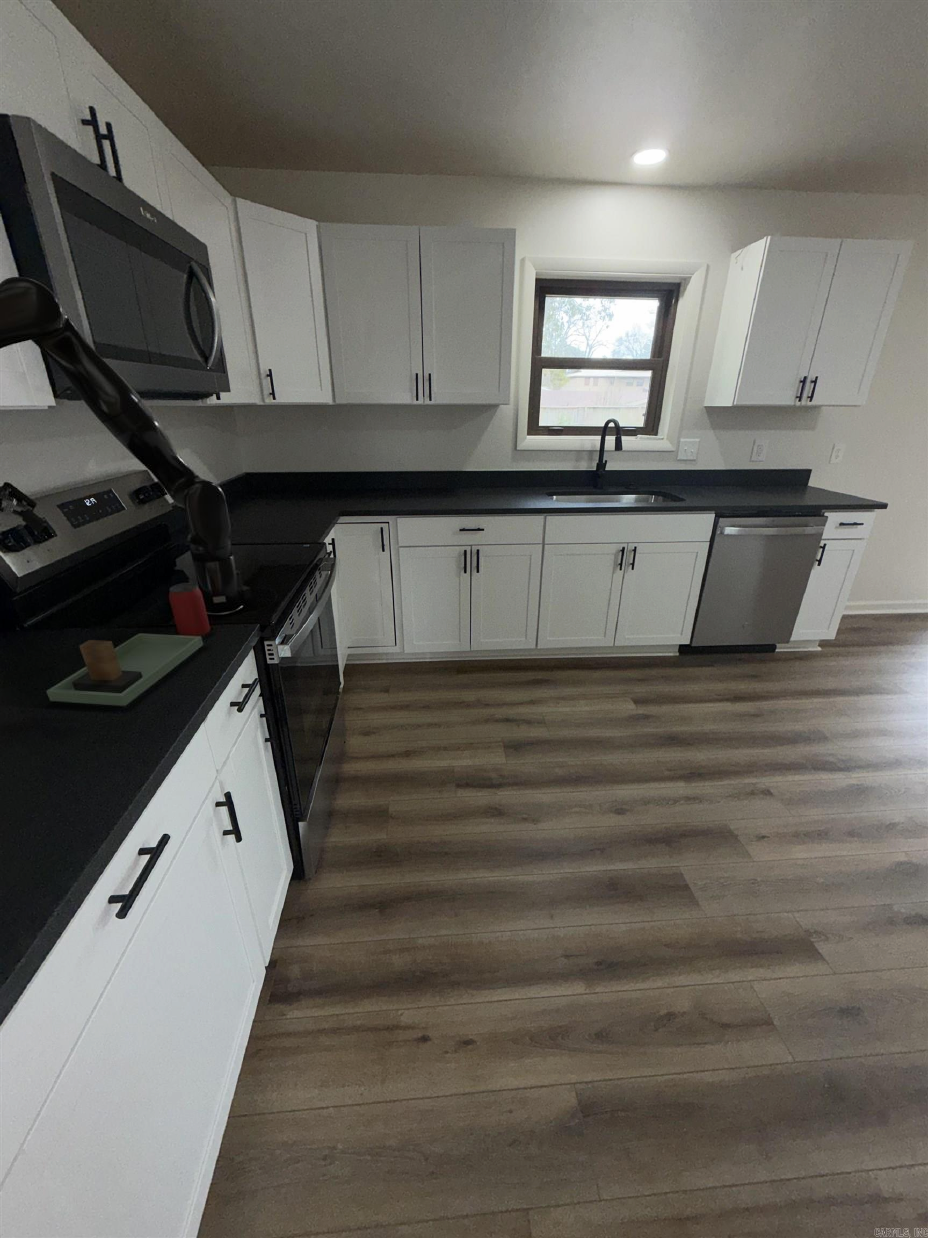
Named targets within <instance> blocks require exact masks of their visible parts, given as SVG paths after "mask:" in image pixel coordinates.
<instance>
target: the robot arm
mask: <svg viewBox="0 0 928 1238" xmlns="http://www.w3.org/2000/svg"><path fill="white" fill-rule="evenodd" d="M28 341H31V342H33V344H35V346H37V347H38V349H40V351H42V352H43V353H44V354H45V355H46V356H47V357H48V358H49V359H50V360H51V361H52V362H53V364H55V366H57V367H58V369H59V370H60V371H61V372H62V373H63V374H64V376H65V377H66V379H67V381H69V383H70V384H71V385H72V387H73V389H74V390H75V391H76V392H77V394H78V395H79V397H80V398H81V399H82V401H83V402H84V403H85V405H86V406H87V407H88V409H89V410H90V411H91V412H92V414H93V415H94V416H95V417H96V419H98V420H99V422H100V423H101V424H102V425H103V426H104V427H105V428H106V429H107V430H108V432H109V433H111V435H112V436H113V437H114V438H115V439H116V440H117V441H118V442H119V443H120V444H121V445H122V446H123V447H124V448H125V449H126V450H127V451H128V452H129V453H130V454H131V455H132V456H133V457H134V458H135V459H136V460H137V461H139V462H140V463H141V464H142V465H143V466H144V467H145V468H146V469H147V470H148V471H149V472H150V473H151V474H152V475H153V477H155V479H156V481H158V483H159V484H160V485H161V486H162V488H163V489H164V491H165V492H166V493H167V494H168V496H169V497H170V499H171V500H172V501H173V503H174V504H175V505H176V506H177V507H178V509H180V511H182V512H184V513H185V514H186V518H187V522H188V528H189V534H188V536H187V542H188V548H189V551H190V556H191V560H192V564H193V568H194V572H195V576H196V581H197V587H198V588H199V589H200V591H201V593H202V596H203V600H204V604H205V609H206V613H207V616H209V617H225V616H229V615H234V614H235V613H238V612H240V611H241V610H243V609H244V608H247V606H248V604H247V602H248V603H250V602H251V600H252V597H253V596H252V591H251V587H248V586H246V585H243V580H242V575H241V572H240V571H238V570H237V568H236V563H235V557H234V553H233V548H232V543H231V532H232V530H231V529H232V528H231V521H230V514H229V507H228V503H227V499H226V496H225V493H224V491H223V490H222V488H221V487H220V486H219V485H218V484H217V483H215V482H213V481H211V480H208V479H205V478H202V477H201V476H200V475H199V474H198V473H197V472H195V471H194V470H193V469H192V468H191V467H190V466H189V464H188V463H187V462H186V461H185V460H184V459H183V458H182V457H181V456H180V454H179V453H178V452H177V450H176V449H175V446H174V445H173V443H172V442H171V439H170V438H169V437H170V436H169V435H168V434H167V432H166V430H165V428H164V427H163V425H162V423H161V421H160V420H159V419H158V418H157V416H156V415H155V413H154V412H153V411H152V410H151V409H150V407H149V406H148V405H147V404H146V402H145V401H144V400H143V399H142V398H141V397H140V395H139V394H138V393H137V392H136V391H135V390H134V389H133V388H132V386H130V384H129V383H127V381H126V380H125V379H124V378H123V377H122V376H121V375H120V374H119V373H118V372H117V371H116V370H115V369H114V368H113V367H112V366H111V365H110V364H108V362H106V360H105V359H103V358H102V356H100V355H99V353H97V351H96V350H95V349H94V348H93V347H92V346H91V344H90V343H89V342H88V341H87V339H86V338H85V337H84V335H83V334H82V332H81V331H80V330H79V329H78V327H77V326H76V324H75V323H74V322H73V320H72V319H71V318H70V316H69V314H68V313H67V312H66V310H65V308H64V307H63V305H62V303H61V302H60V299H58V297H57V296H56V295H55V294H54V292H53V291H52V290H51V289H49V288H48V287H47V286H45V285H44V284H42V283H41V282H39V281H37V280H35V279H32V278H29V277H26V276H11V277H8V278H5V279H3V280H2V281H1V282H0V350H1V349H3V348H6V347H9V346H12V345H16V344H19V343H24V342H28ZM3 503H6V506H5V507H3ZM37 506H38V503H37V502H36V501H35V500H33V498H31V497H30V496H28V495H27V494H26V493H24V492H23V491H22V490H20V489H19V488H18V487H16V486H15V485H13V484H12V483H10V482H8V481H4V482H3V484H2V485H1V486H0V514H1V515H4V516H13V517H17V518H19V519H21V520H22V521H23V522H24V524H26V525H28V526H29V527H30V528H31V529H32V530H34V531H35V532H36V533H38V534H43V533H45V531H46V530H47V528H48V524H47V522H46V521H45V520H44V519H42V518H41V517H40V516H39V515H38V514H36V513H35V512H34V510H35V508H36V507H37ZM15 508H16V509H15ZM17 509H19V510H17ZM3 540H4V537H3V536H2V534H0V545H1V544H2V542H3Z"/></svg>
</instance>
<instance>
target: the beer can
mask: <svg viewBox="0 0 928 1238" xmlns="http://www.w3.org/2000/svg"><path fill="white" fill-rule="evenodd" d="M168 599H169V600H168V601H169V604H170V607H171V611H172V614H173V618H174V621H175V622H174V623H175V625H176V630H177V633H178V635H181V636H200V637H202V636H203V635H206V634H208V633H209V632H210V631H211V626H210V625H211V624H210V622H209V617H208V615H207V613H206V609H205V604H204V600H203V596H202V593H201V591H200V589H199V586H198V583H194V582H182V583H178V584H175V585H172V586H171V587H169V594H168Z"/></svg>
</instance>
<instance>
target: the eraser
mask: <svg viewBox="0 0 928 1238" xmlns="http://www.w3.org/2000/svg"><path fill="white" fill-rule="evenodd" d="M78 647H79V649H80V653H81V655H82V657H83V661H84V663H85V667H86V666H87V669H88V672H87V673H86V674H84V675H82V676H81V677H79V678H78V679H76V680H75V681H73V682H72V684H73V687H74V689H75V691H90V692H105V693H120V694H121V693H122V692H124V691H125V690H126V689H128V688H129V687H130V686H132V685H133V684H134V683H136V682H137V681H139V680H140V679H141V678H143V676H142V673H141V672H139V671H122V670H121V668H120V665H119V662H118V659H117V656H116V653H115V650H114V649H115V648H114V644H113V641H111V640H95V639H88V640H87V641H85V642H84V643H81V644H80V645H78Z"/></svg>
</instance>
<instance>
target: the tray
mask: <svg viewBox="0 0 928 1238" xmlns="http://www.w3.org/2000/svg"><path fill="white" fill-rule="evenodd" d="M202 638H203V637H202V636H181V635H179V634H163V633H162V634H160V633H142V632H141V633H137V634H136V635H134V636H133V637H131V638H129V639H128V640H126V641H125V642H123V643H121V644H120V645H118V646H116V647H115V648H114V650H115V653H116V656H117V659H118V662H119V665H120V668H121V670H122V671H139V672H141V673H142V676H143V678H141V679H140V680H139V681H137V682H136V683H134V684H133V685H132V686H130V687H129V688H128V689H126V690H125V691H124V692H122V693H121V694H120V693H105V692H90V691H75V689H74V687H73V684H72V682H73V681H75V680H76V679H78V678H79V677H81V676H82V675H84V674H86V673H87V672H88V669H87V666H86V665H85V666H84V667H83V668H81V669H80V670H78V671H76V672H75V673H73V674H71V675H70V676H68V677H66V678H65V679H63V680H62V681H60V682H59V683H57V684H56V685H54V686H52V687H50V688H49V689H47V690H46V695H47V696H48V699H49V701H50V702H63V703H74V704H75V703H77V704H78V703H79V704H91V705H104V706H105V705H108V706H121V707H126V706H127V705H128V704H130V703H131V702H133V700H135V699H136V698H137V697H139V696H140V695H141V694H142V693H144V692H145V691H146V690H147V689H149V688H150V687H151V686H153V685H155V683H156V682H158V680H159V681H160V679H162V678H163V677H164V676H165V675H167V674H168V673H169V672H170V671H172V670H173V669H174V668H176V667H177V666H178V665H179V664H180V663H181V664H182V662H183V661H185V660H186V659H187V658H188V657H190V656H191V655H192V654H194V653H195V652H196V651H198V650H199V648H201V647H202V646H204V643H203V639H202Z"/></svg>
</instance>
